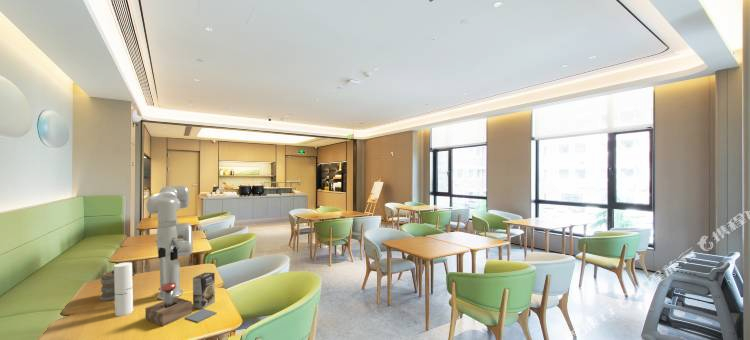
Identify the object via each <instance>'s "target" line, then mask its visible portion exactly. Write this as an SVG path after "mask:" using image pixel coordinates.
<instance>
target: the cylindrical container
mask: <svg viewBox="0 0 750 340" xmlns="http://www.w3.org/2000/svg"><path fill="white" fill-rule="evenodd" d="M113 270H114V285H115V299H114V313H115V316H116V317H123V316H126V314H127V315H130V314H131V313H133V312H134V293H133V289H134V288H133V276H132V272H133V263H132V262H130V261H128V262H121V263H116V264H114V265H113ZM132 311H133V312H132Z"/></svg>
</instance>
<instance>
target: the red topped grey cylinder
mask: <svg viewBox="0 0 750 340" xmlns="http://www.w3.org/2000/svg"><path fill="white" fill-rule="evenodd" d="M175 288H176V283H166V284H163V285H162V286H161V291H164V299H165V300H164V301H165V308H168V307H171V306H173V289H175Z"/></svg>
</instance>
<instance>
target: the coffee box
mask: <svg viewBox="0 0 750 340" xmlns="http://www.w3.org/2000/svg"><path fill="white" fill-rule="evenodd" d="M215 275H216V273H215V272H203V273H201V274H199V275H197V276H194V277H192V309H200V310H202V309H206V308H207V307H209V306H210V305H212V304H213V303H215V302H216V286H215V279H216V276H215Z"/></svg>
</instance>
